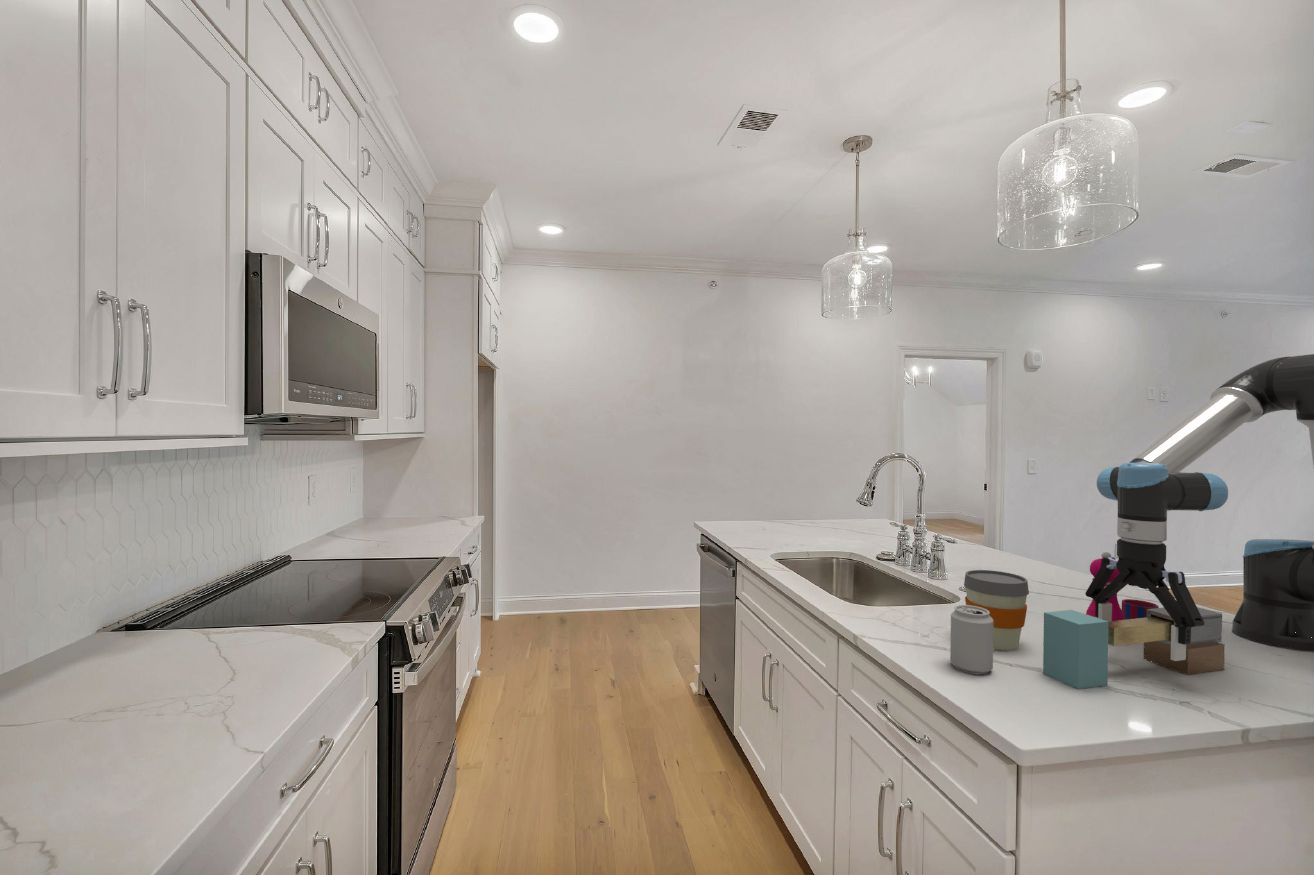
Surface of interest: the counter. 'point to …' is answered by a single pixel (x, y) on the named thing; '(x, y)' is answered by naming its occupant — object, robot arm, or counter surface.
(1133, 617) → the cup
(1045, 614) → the socket block
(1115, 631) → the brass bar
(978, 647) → the can
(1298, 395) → the robot arm
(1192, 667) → the sleeve stand
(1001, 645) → the reusable coffee cup
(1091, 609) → the pepper mill
